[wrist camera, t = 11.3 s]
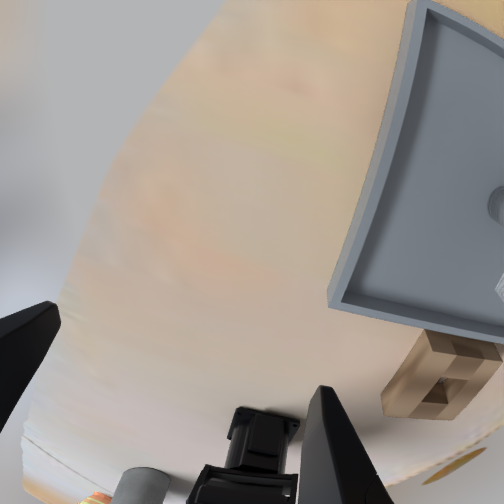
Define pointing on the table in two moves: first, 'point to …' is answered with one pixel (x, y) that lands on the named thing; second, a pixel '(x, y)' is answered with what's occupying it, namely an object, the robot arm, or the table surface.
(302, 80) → the table surface
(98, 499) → the potted cactus
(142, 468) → the flask
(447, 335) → the socket block
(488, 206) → the gray rectangular block
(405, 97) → the tray
